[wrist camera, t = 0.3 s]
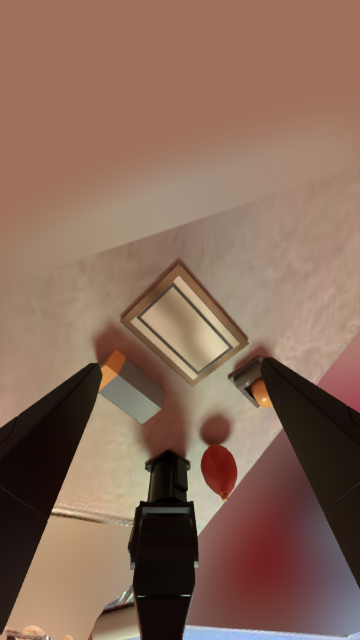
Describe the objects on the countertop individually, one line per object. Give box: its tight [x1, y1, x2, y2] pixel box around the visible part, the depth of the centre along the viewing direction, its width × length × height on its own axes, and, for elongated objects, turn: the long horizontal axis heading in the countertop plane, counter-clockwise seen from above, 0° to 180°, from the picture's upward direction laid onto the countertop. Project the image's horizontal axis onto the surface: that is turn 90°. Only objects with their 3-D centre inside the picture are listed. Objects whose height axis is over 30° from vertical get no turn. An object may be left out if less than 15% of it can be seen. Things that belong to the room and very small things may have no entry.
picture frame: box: [120, 264, 249, 387], centre depth 24 cm, size 11×15×1 cm
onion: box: [201, 443, 237, 501], centre depth 27 cm, size 6×6×8 cm
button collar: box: [228, 355, 262, 408], centre depth 26 cm, size 6×6×2 cm
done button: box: [250, 378, 273, 408], centre depth 24 cm, size 3×3×2 cm
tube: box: [92, 606, 140, 640], centre depth 51 cm, size 5×5×25 cm
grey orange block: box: [98, 349, 164, 424], centre depth 24 cm, size 4×10×4 cm, turn 43°
